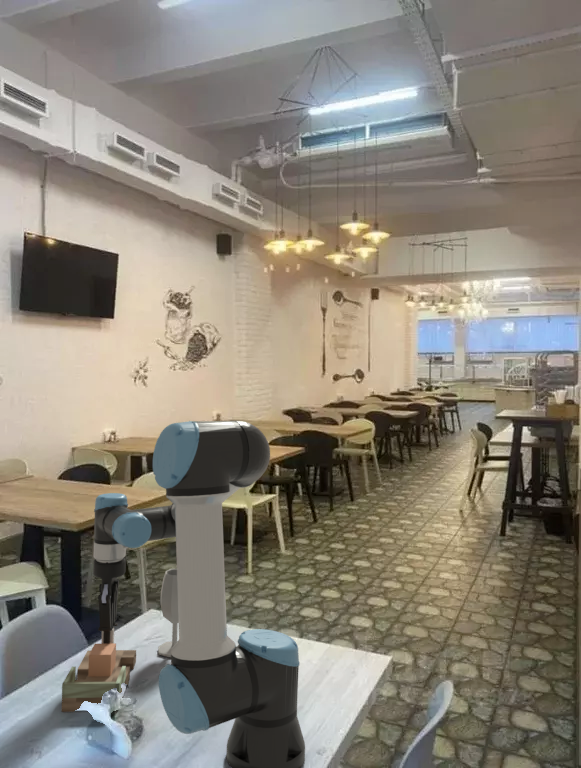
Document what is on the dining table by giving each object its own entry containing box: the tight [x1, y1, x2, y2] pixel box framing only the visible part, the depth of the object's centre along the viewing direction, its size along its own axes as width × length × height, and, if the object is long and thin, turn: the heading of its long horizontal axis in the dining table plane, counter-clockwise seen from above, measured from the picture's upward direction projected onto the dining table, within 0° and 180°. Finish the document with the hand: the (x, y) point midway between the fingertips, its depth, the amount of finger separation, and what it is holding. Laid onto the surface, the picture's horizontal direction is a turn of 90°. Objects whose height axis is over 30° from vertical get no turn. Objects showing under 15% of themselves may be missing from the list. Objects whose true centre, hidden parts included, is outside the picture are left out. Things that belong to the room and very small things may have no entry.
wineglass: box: [157, 568, 179, 658], centre depth 164 cm, size 9×9×21 cm
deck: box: [61, 649, 137, 713], centre depth 145 cm, size 23×12×6 cm, turn 5°
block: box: [88, 642, 117, 677], centre depth 146 cm, size 6×5×5 cm
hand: (107, 655), depth 151 cm, fingers closed
